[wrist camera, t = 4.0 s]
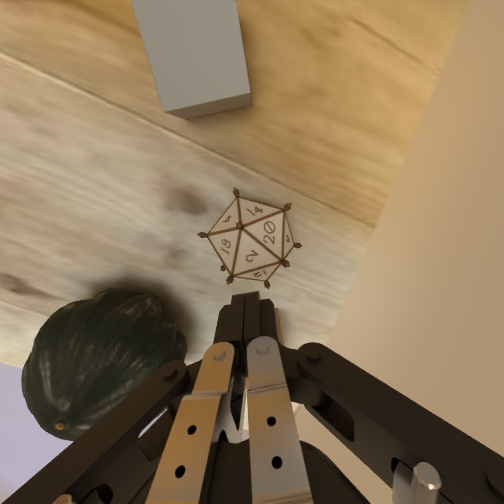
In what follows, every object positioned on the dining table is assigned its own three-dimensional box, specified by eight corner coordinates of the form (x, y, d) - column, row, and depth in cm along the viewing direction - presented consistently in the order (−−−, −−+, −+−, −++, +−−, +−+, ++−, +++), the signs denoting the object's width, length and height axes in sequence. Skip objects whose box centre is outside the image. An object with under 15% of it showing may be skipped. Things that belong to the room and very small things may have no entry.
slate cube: (186, 119, 22) (163, 111, 17) (164, 36, 20) (129, -6, 14) (251, 105, 21) (250, 92, 16) (237, 17, 19) (230, -33, 14)
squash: (102, 422, 31) (106, 530, 19) (4, 343, 27) (-78, 415, 14) (187, 337, 38) (234, 375, 25) (120, 261, 33) (135, 261, 20)
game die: (241, 204, 29) (209, 156, 19) (312, 225, 27) (316, 182, 17) (213, 276, 28) (164, 262, 18) (284, 303, 26) (271, 305, 16)
